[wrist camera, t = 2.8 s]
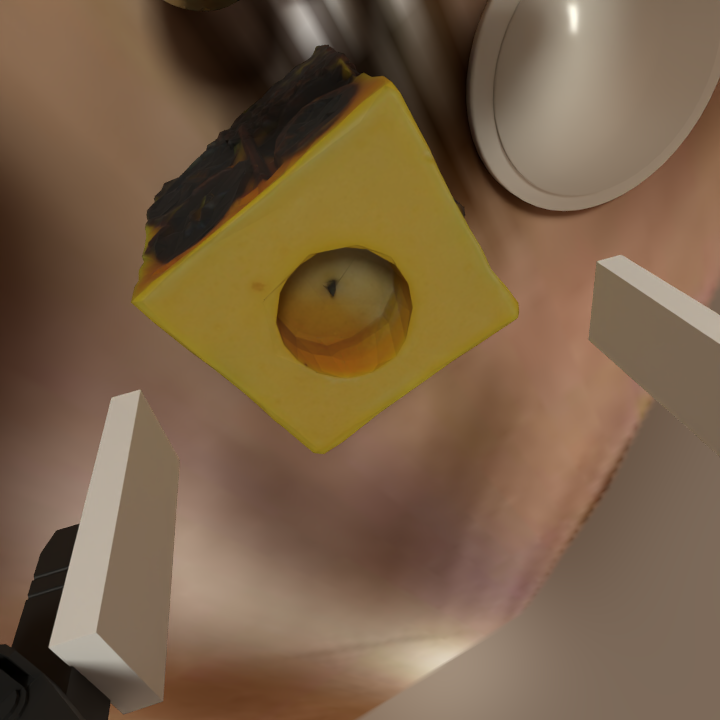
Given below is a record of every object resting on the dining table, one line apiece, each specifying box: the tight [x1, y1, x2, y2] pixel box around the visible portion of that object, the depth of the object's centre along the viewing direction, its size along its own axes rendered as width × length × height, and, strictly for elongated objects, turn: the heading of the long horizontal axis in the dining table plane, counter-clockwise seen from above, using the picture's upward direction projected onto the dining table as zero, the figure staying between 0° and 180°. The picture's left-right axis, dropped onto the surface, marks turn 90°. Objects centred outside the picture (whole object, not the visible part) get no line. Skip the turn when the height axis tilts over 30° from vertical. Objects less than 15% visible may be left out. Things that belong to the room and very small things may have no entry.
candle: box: [131, 45, 519, 454], centre depth 21 cm, size 10×10×10 cm
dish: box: [466, 0, 720, 211], centre depth 24 cm, size 13×13×1 cm
